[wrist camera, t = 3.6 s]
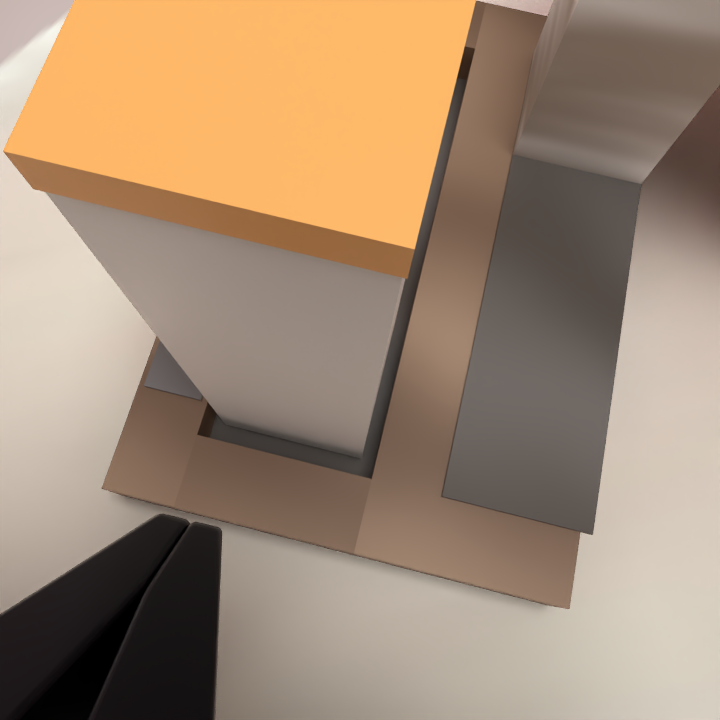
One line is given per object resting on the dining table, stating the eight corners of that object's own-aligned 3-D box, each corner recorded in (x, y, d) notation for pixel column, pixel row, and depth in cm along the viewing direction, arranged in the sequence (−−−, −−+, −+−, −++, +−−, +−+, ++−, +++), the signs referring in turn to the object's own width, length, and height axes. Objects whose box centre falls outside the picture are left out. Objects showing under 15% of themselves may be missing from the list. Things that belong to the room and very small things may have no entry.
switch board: (560, 608, 16) (1126, 711, 5) (121, 494, 17) (-372, 326, 5) (639, 77, 21) (1016, -535, 9) (294, 0, 21) (245, -677, 10)
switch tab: (362, 460, 17) (414, 249, 6) (223, 426, 17) (2, 150, 6) (395, 328, 18) (492, -71, 7) (263, 296, 18) (145, -147, 7)
